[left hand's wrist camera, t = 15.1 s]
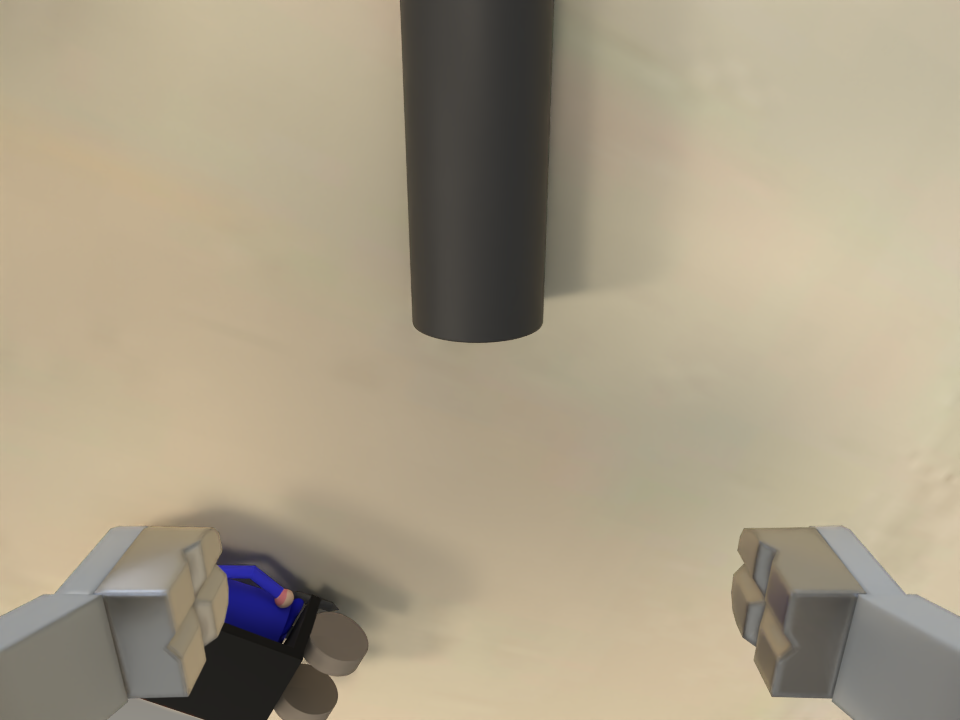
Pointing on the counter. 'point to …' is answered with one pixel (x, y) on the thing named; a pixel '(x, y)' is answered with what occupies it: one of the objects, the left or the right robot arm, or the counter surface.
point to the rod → (477, 164)
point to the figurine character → (272, 655)
